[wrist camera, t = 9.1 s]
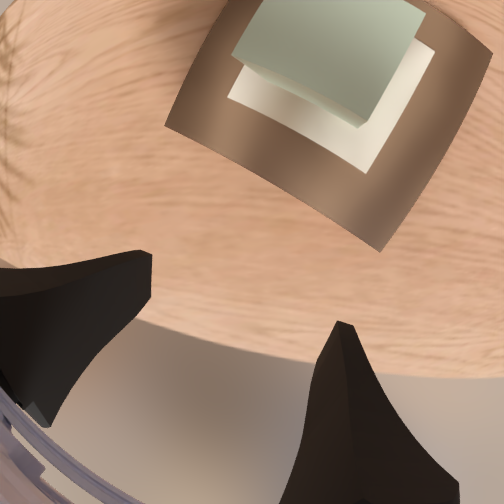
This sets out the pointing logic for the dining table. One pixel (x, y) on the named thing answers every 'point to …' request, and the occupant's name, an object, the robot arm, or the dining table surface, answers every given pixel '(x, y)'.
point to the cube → (330, 50)
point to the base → (336, 123)
